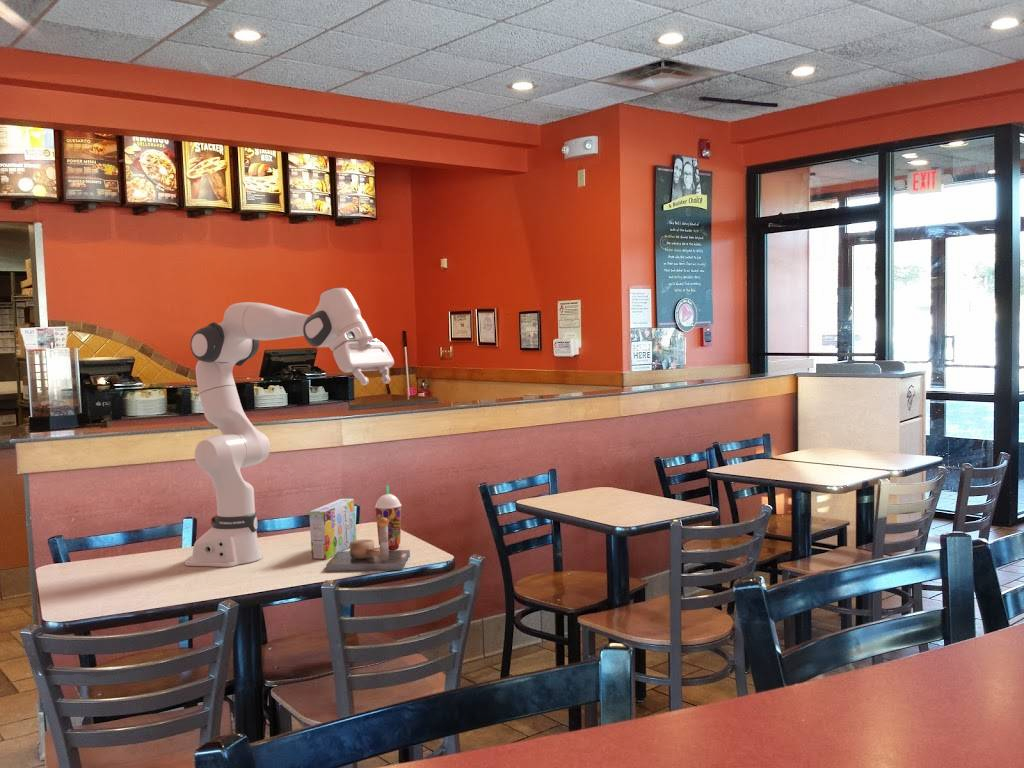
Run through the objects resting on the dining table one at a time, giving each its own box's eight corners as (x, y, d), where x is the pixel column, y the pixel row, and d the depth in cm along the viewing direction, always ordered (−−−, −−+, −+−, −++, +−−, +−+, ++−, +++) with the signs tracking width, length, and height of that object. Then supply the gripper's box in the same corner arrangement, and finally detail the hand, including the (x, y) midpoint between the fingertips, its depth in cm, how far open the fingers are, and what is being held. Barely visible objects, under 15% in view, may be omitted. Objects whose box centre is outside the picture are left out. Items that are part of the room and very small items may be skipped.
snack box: (341, 543, 296) (339, 498, 295) (357, 544, 294) (355, 498, 294) (310, 559, 275) (308, 510, 275) (327, 560, 274) (325, 511, 273)
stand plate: (326, 571, 260) (326, 563, 260) (338, 558, 276) (337, 550, 276) (402, 569, 259) (402, 562, 259) (409, 556, 275) (409, 548, 275)
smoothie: (398, 551, 283) (396, 487, 282) (373, 550, 284) (370, 487, 283) (406, 545, 291) (403, 483, 290) (381, 544, 292) (378, 483, 291)
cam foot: (345, 556, 267) (343, 514, 267) (363, 551, 272) (362, 510, 272) (378, 563, 257) (377, 520, 257) (397, 558, 263) (395, 516, 262)
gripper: (372, 344, 260) (392, 386, 257) (324, 345, 242) (345, 391, 240) (387, 333, 257) (407, 375, 255) (339, 334, 239) (360, 379, 237)
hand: (376, 383), depth 247 cm, fingers open, 8 cm apart
